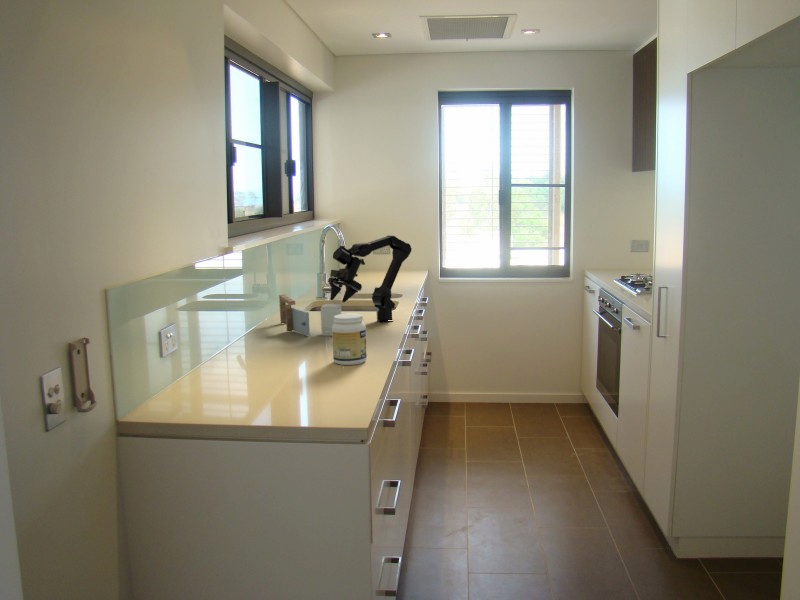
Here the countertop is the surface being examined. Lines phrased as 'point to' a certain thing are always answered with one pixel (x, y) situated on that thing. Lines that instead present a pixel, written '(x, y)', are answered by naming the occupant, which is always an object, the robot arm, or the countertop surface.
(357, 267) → the robot arm
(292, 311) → the door
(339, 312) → the supplement box
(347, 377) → the countertop surface
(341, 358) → the supplement tub
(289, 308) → the door frame
